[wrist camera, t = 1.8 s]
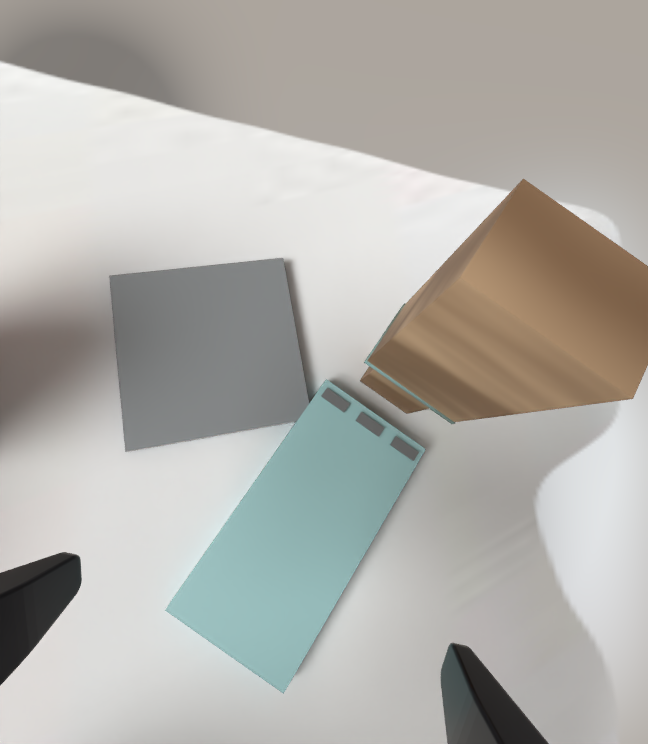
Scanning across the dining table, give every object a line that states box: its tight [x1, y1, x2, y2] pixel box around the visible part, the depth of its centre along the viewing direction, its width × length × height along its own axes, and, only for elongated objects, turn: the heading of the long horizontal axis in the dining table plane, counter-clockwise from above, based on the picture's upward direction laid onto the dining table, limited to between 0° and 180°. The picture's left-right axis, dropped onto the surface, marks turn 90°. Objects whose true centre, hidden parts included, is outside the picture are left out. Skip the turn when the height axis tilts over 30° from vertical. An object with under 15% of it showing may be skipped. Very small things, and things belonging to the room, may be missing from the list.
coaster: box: [109, 258, 309, 452], centre depth 21 cm, size 10×10×1 cm
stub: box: [360, 179, 648, 424], centre depth 16 cm, size 4×5×14 cm
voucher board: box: [165, 379, 426, 694], centre depth 20 cm, size 14×7×1 cm, turn 146°
